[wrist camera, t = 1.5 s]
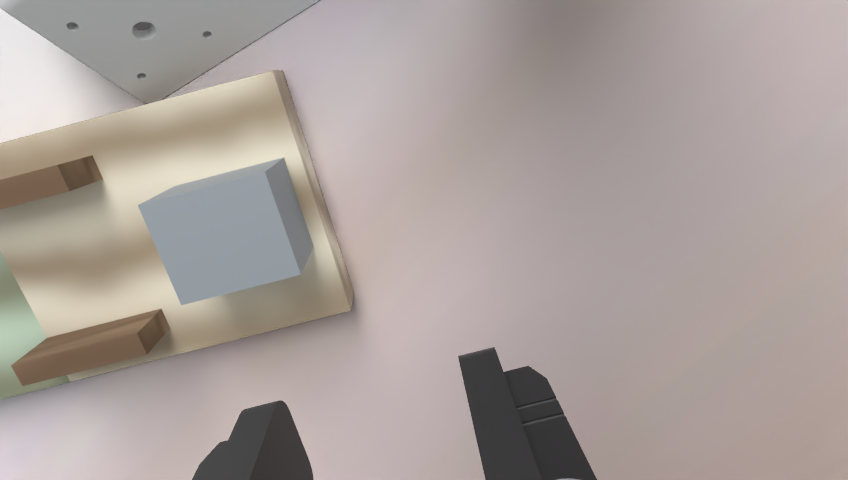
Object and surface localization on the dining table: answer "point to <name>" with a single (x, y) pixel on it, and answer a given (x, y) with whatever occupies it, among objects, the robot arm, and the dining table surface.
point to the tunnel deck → (143, 235)
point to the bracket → (152, 35)
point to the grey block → (229, 231)
